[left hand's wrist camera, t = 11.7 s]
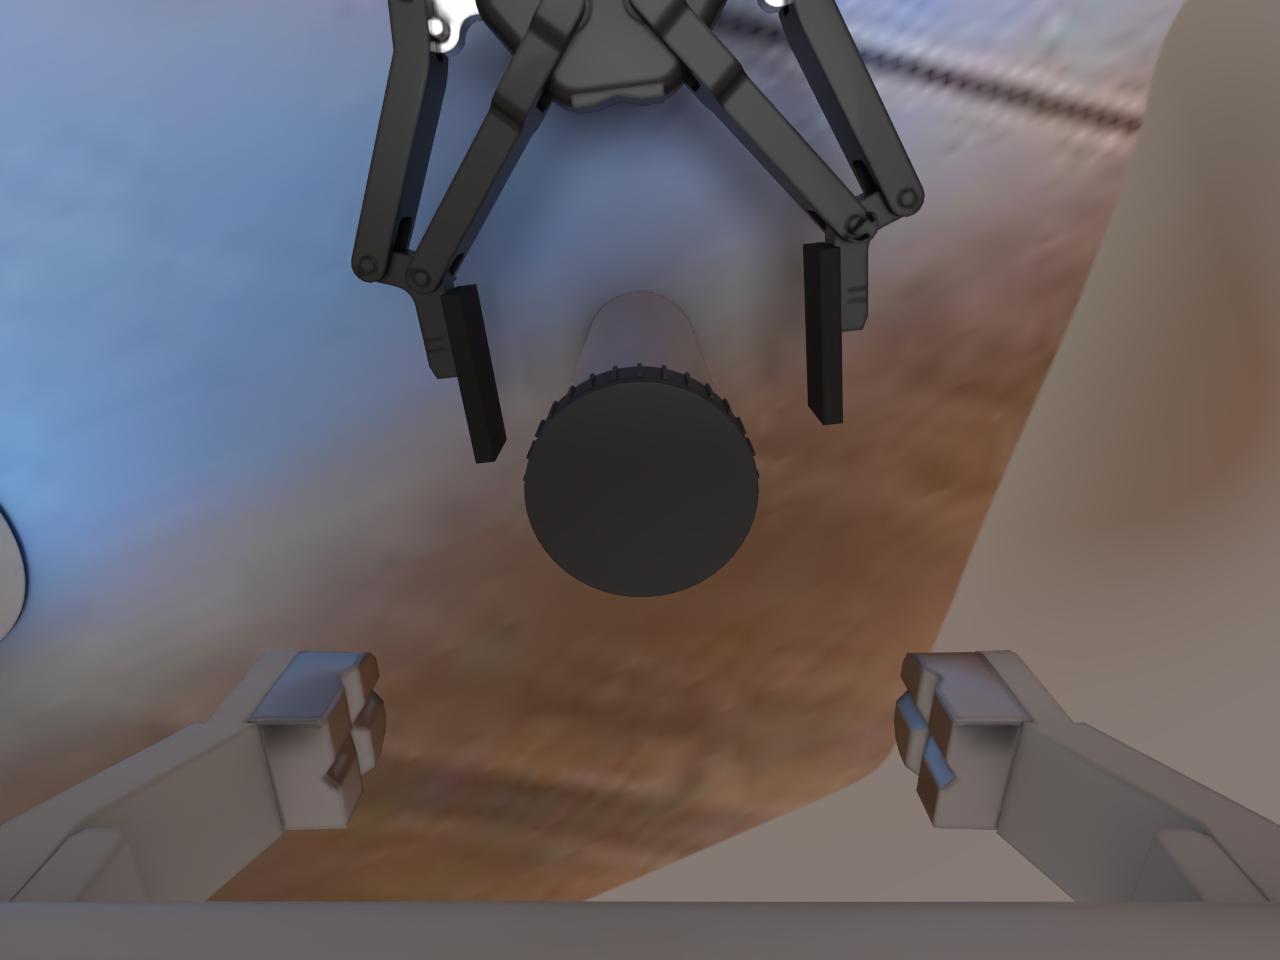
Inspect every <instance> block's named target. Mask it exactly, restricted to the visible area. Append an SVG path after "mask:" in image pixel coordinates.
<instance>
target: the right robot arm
mask: <svg viewBox="0 0 1280 960" xmlns="http://www.w3.org/2000/svg"><path fill="white" fill-rule="evenodd" d="M726 2H727V0H388V6H389V15H390V23H391V32H392V41H393V50H394V51H393V56H392V61H391V66H390V71H389V76H388V81H387V86H386V91H385V96H384V101H383V106H382V111H381V116H380V121H379V125H378V130H377V135H376V140H375V145H374V150H373V155H372V160H371V165H370V170H369V175H368V180H367V185H366V190H365V195H364V200H363V205H362V210H361V214H360V219H359V224H358V229H357V234H356V239H355V244H354V249H353V254H352V259H351V266H352V269H353V272H354V273H355V275H356V276H357V277H358V278H359V279H361V280H363V281H364V282H370V283H372V282H379V283H384V284H388V285H392V286H396V287H399V288H402V289H403V290H405V291H407V292H408V293H409V294H410V295H411V297H412V299H413V300H414V303H415V306H416V310H417V314H418V319H419V323H420V327H421V332H422V336H423V340H424V345H425V349H426V352H427V353H426V354H427V358H428V362H429V367H430V368H431V370H432V371H433V373H434V374H435V376H436V377H437V379H442V378H451V377H458V382H459V387H460V391H461V396H462V400H463V405H464V410H465V414H466V419H467V424H468V428H469V433H470V437H471V442H472V447H473V451H474V456H475V461H476V464H477V463H486V462H495V460H496V459H497V457H498V455H499V453H500V451H501V449H502V447H503V445H504V444H505V442H506V440H507V438H506V433H505V428H504V423H503V418H502V413H501V408H500V403H499V398H498V392H497V387H496V382H495V377H494V372H493V367H492V362H491V357H490V352H489V347H488V342H487V336H486V331H485V326H484V321H483V316H482V311H481V306H480V301H479V296H478V291H477V286H476V284H474V285H466V286H458V287H456V288H454V283H453V282H454V281H455V280H456V278H457V277H455V275H456V273H457V271H458V269H459V267H460V265H461V264H462V262H463V260H464V258H465V256H466V255H467V253H468V251H469V249H470V247H471V245H472V244H473V242H474V240H475V238H476V236H477V235H478V233H479V231H480V229H481V227H482V225H483V224H484V222H485V220H486V218H487V216H488V214H489V213H490V211H491V209H492V207H493V205H494V204H495V202H496V200H497V198H498V196H499V194H500V193H501V191H502V189H503V187H504V185H505V184H506V182H507V180H508V178H509V176H510V174H511V173H512V171H513V169H514V167H515V165H516V164H517V162H518V160H519V158H520V156H521V154H522V153H523V151H524V149H525V147H526V145H527V143H528V142H529V140H530V138H531V136H532V135H533V134H534V132H535V131H536V130H537V129H538V127H539V126H540V124H541V122H542V121H543V119H544V117H545V115H546V113H547V111H548V110H549V108H550V106H551V104H552V102H554V103H556V104H557V105H559V106H560V107H562V108H565V109H567V110H570V111H575V112H576V113H577V114H581V113H589V112H597V111H600V110H602V109H604V108H607V107H609V106H611V105H613V104H616V103H618V102H623V103H630V104H636V105H650V104H657V103H663V101H664V100H665V99H667V98H669V97H670V96H672V95H673V94H675V93H676V92H677V91H678V90H679V89H680V88H681V87H682V85H683V84H685V85H686V86H687V87H688V88H689V89H690V90H691V91H692V93H693V94H694V95H695V96H696V97H697V98H698V99H699V100H700V101H701V102H702V103H703V104H704V105H705V106H706V107H707V108H708V109H710V110H711V111H712V112H713V113H714V114H715V115H716V116H717V117H718V118H719V119H720V120H721V121H722V122H723V123H724V124H725V126H726V127H727V128H728V129H729V130H730V131H731V132H732V133H733V134H734V135H735V136H736V137H737V139H738V140H739V141H740V142H741V143H742V144H743V145H744V146H745V147H746V148H747V149H748V150H749V151H750V153H751V154H752V155H753V156H754V157H755V158H756V159H757V160H758V161H759V162H760V163H761V164H762V166H763V167H764V168H765V169H766V170H767V171H768V172H769V173H770V174H771V175H772V176H773V177H774V179H775V180H776V181H777V182H778V183H779V184H780V185H781V186H782V187H783V188H784V189H785V190H786V192H787V193H788V194H789V195H790V196H791V197H792V198H793V199H794V200H795V201H796V202H797V203H798V205H799V206H800V207H801V208H802V209H803V210H804V211H805V212H806V213H807V214H808V215H809V216H810V218H811V219H812V220H813V221H814V222H815V223H816V224H817V225H818V226H819V227H820V228H821V229H822V231H823V232H824V233H825V243H824V242H818V243H810V244H803V259H804V291H805V323H806V355H807V387H808V406H809V408H810V409H811V410H812V411H813V413H814V414H815V415H816V417H817V418H818V419H819V420H820V422H821V423H822V424H823V425H829V424H838V423H843V401H842V332H844V331H853V330H862V329H863V327H864V325H865V322H866V319H867V317H868V247H869V243H870V240H871V239H873V237H874V236H875V234H876V233H877V231H878V230H879V229H881V228H882V227H884V226H886V225H888V224H890V223H892V222H894V221H896V220H898V219H900V218H902V217H908V216H911V215H913V214H915V213H916V212H917V211H918V210H919V209H920V208H921V206H922V204H923V202H924V196H925V194H924V190H923V187H922V185H921V183H920V181H919V179H918V176H917V174H916V172H915V170H914V168H913V166H912V164H911V162H910V159H909V157H908V155H907V153H906V151H905V149H904V147H903V145H902V142H901V140H900V138H899V136H898V134H897V132H896V130H895V128H894V126H893V123H892V121H891V119H890V117H889V115H888V113H887V111H886V109H885V106H884V104H883V102H882V100H881V98H880V96H879V94H878V92H877V89H876V87H875V85H874V83H873V81H872V79H871V77H870V75H869V72H868V70H867V68H866V66H865V64H864V62H863V60H862V58H861V55H860V53H859V51H858V49H857V47H856V45H855V43H854V41H853V38H852V36H851V34H850V32H849V30H848V28H847V26H846V24H845V21H844V19H843V17H842V15H841V13H840V11H839V9H838V7H837V4H836V2H835V0H757V2H758V5H759V6H760V7H761V8H762V9H763V10H764V11H766V12H769V13H777V12H778V13H779V17H780V21H781V24H782V27H783V31H784V33H785V35H786V38H787V40H788V42H789V45H790V47H791V49H792V51H793V53H794V55H795V57H796V59H797V61H798V63H799V65H800V67H801V69H802V71H803V73H804V75H805V77H806V79H807V81H808V83H809V85H810V87H811V89H812V91H813V93H814V95H815V97H816V99H817V101H818V103H819V105H820V107H821V109H822V111H823V113H824V115H825V117H826V119H827V121H828V123H829V125H830V127H831V129H832V131H833V133H834V135H835V137H836V139H837V141H838V143H839V145H840V147H841V149H842V151H843V153H844V155H845V157H846V159H847V161H848V163H849V165H850V167H851V169H852V171H853V173H854V175H855V177H856V179H857V181H858V183H859V185H860V187H861V189H862V191H863V193H862V194H860V195H858V196H856V197H855V196H854V195H853V194H852V193H851V191H850V190H849V189H848V188H847V187H846V186H845V185H844V184H843V182H842V181H841V180H840V179H839V178H838V177H837V176H836V175H835V173H834V172H833V171H832V170H831V169H830V168H829V167H828V166H827V165H826V163H825V162H824V161H823V160H822V159H821V158H820V157H819V156H818V154H817V153H816V152H815V151H814V150H813V149H812V148H811V147H810V145H809V144H808V143H807V142H806V141H805V140H804V139H803V138H802V137H801V135H800V134H799V133H798V132H797V131H796V130H795V129H794V128H793V126H792V125H791V124H790V123H789V122H788V121H787V120H786V119H785V117H784V116H783V115H782V114H781V113H780V112H779V111H778V110H777V109H776V107H775V106H774V105H773V104H772V103H771V102H770V101H769V100H768V98H767V97H766V96H765V95H764V94H763V93H762V92H761V91H760V89H759V88H758V87H757V86H756V85H755V84H754V83H753V82H752V81H751V79H750V78H749V77H748V76H747V75H746V73H745V72H744V70H743V68H742V66H741V64H740V63H739V62H738V60H737V59H736V58H735V57H734V56H733V54H732V53H731V52H730V51H729V50H728V49H727V48H726V47H725V45H724V44H723V43H722V42H721V41H720V40H719V39H718V38H717V37H716V35H715V34H714V33H713V32H712V29H713V27H714V25H715V23H716V21H717V19H718V17H719V15H720V13H721V11H722V9H723V8H724V6H725V4H726ZM481 20H483V21H484V23H485V24H486V25H487V26H488V28H489V29H490V30H491V31H492V32H493V33H494V35H495V36H496V37H497V38H498V39H499V40H500V42H501V43H502V44H503V45H504V46H505V47H506V48H507V50H508V51H509V52H510V53H511V54H512V55H513V58H512V60H511V62H510V64H509V66H508V68H507V70H506V72H505V74H504V76H503V77H502V79H501V81H500V83H499V85H498V87H497V89H496V91H495V93H494V96H493V98H492V103H491V107H490V109H489V112H488V114H487V116H486V117H485V119H484V121H483V123H482V125H481V127H480V129H479V131H478V133H477V135H476V137H475V138H474V140H473V142H472V144H471V146H470V148H469V150H468V152H467V154H466V156H465V158H464V160H463V161H462V163H461V165H460V167H459V169H458V171H457V173H456V175H455V177H454V179H453V181H452V182H451V184H450V186H449V188H448V190H447V192H446V194H445V196H444V198H443V200H442V202H441V203H440V205H439V207H438V209H437V211H436V213H435V215H434V217H433V219H432V221H431V223H430V225H429V226H428V228H427V230H426V232H425V234H424V236H423V238H422V240H421V242H420V244H419V246H418V247H417V249H416V251H412V250H409V245H410V241H411V237H412V232H413V228H414V224H415V219H416V215H417V211H418V206H419V202H420V198H421V193H422V189H423V185H424V180H425V176H426V171H427V167H428V163H429V158H430V154H431V150H432V145H433V141H434V137H435V132H436V128H437V124H438V119H439V115H440V110H441V106H442V102H443V97H444V93H445V88H446V82H447V76H448V57H452V56H455V55H457V54H459V53H460V52H461V51H462V49H463V47H464V45H465V39H466V33H467V31H468V29H469V27H470V26H471V25H472V24H473V23H475V22H477V21H481Z"/></svg>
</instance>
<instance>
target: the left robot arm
mask: <svg viewBox="0 0 1280 960" xmlns="http://www.w3.org/2000/svg"><path fill="white" fill-rule="evenodd" d="M24 597H25V571H24V565H23V561H22V557H21V553H20V550H19V547H18V544H17V542H16V540H15V537H14V535H13V533H12V531H11V529H10V527H9V525H8V524H7V522H6V520H5V518H4V517H3V515H2V514H1V512H0V640H1V639H2V638H3V637H4V636H6V634H7V633H8V632H9V631H10V630H11V628H12V627H13V626H14V624H15V622H16V621H17V619H18V617H19V614H20V612H21V609H22V606H23V602H24ZM378 678H379V671H378V666H377V661H376V657H375V656H374V655H372V654H371V653H370V652H337V651H304V652H303V651H270V652H267V653H264V654H263V655H262V656H261V657H260V658H259V659H258V660H257V662H256V663H255V664H254V665H253V666H252V668H251V669H250V670H249V671H248V673H247V674H246V675H245V676H244V677H243V679H242V680H241V681H240V682H239V683H238V685H237V686H236V687H235V688H234V689H233V691H232V692H231V693H230V694H229V696H228V697H227V698H226V699H225V700H224V702H223V703H222V704H221V705H220V706H219V708H218V709H217V710H216V711H215V712H214V714H213V715H212V716H211V717H210V719H209V720H208V721H207V722H206V723H194V724H192V725H190V726H188V727H186V728H184V729H182V730H180V731H178V732H176V733H175V734H173V735H171V736H169V737H167V738H165V739H163V740H161V741H159V742H157V743H155V744H154V745H152V746H150V747H148V748H146V749H144V750H142V751H140V752H138V753H136V754H134V755H133V756H131V757H129V758H127V759H125V760H123V761H121V762H119V763H117V764H115V765H113V766H112V767H110V768H108V769H106V770H104V771H102V772H100V773H98V774H96V775H94V776H93V777H91V778H89V779H87V780H85V781H83V782H81V783H79V784H77V785H75V786H73V787H72V788H70V789H68V790H66V791H64V792H62V793H60V794H58V795H56V796H54V797H52V798H51V799H49V800H47V801H45V802H43V803H41V804H39V805H37V806H35V807H33V808H31V809H30V810H28V811H26V812H24V813H22V814H20V815H18V816H16V817H14V818H12V819H11V820H9V821H7V822H5V823H3V824H1V825H0V960H1280V825H1278V824H1277V823H1275V822H1273V821H1271V820H1269V819H1267V818H1265V817H1263V816H1261V815H1259V814H1258V813H1256V812H1254V811H1252V810H1250V809H1248V808H1246V807H1244V806H1242V805H1240V804H1239V803H1237V802H1235V801H1233V800H1231V799H1229V798H1227V797H1225V796H1223V795H1221V794H1220V793H1218V792H1216V791H1214V790H1212V789H1210V788H1208V787H1206V786H1204V785H1202V784H1201V783H1199V782H1197V781H1195V780H1193V779H1191V778H1189V777H1187V776H1185V775H1183V774H1181V773H1180V772H1178V771H1176V770H1174V769H1172V768H1170V767H1168V766H1166V765H1164V764H1162V763H1161V762H1159V761H1157V760H1155V759H1153V758H1151V757H1149V756H1147V755H1145V754H1143V753H1142V752H1140V751H1138V750H1136V749H1134V748H1132V747H1130V746H1128V745H1126V744H1124V743H1123V742H1121V741H1119V740H1117V739H1115V738H1113V737H1111V736H1109V735H1107V734H1105V733H1104V732H1102V731H1100V730H1098V729H1096V728H1094V727H1092V726H1090V725H1088V724H1086V723H1074V722H1073V721H1072V720H1071V719H1070V717H1069V716H1068V715H1067V714H1066V713H1065V711H1064V710H1063V709H1062V708H1061V706H1060V705H1059V704H1058V703H1057V702H1056V700H1055V699H1054V698H1053V697H1052V696H1051V694H1050V693H1049V692H1048V691H1047V690H1046V688H1045V687H1044V686H1043V685H1042V684H1041V682H1040V681H1039V680H1038V679H1037V677H1036V676H1035V675H1034V674H1033V673H1032V671H1031V670H1030V669H1029V668H1028V667H1027V665H1026V664H1025V663H1024V662H1023V661H1022V659H1021V658H1020V657H1019V656H1018V655H1017V654H1016V653H1014V652H1012V651H1010V650H1002V651H975V652H951V653H907V655H906V657H905V659H904V661H903V665H902V671H901V678H902V680H903V682H904V684H905V686H906V688H907V691H906V692H905V693H904V694H903V695H902V696H901V697H900V698H899V699H898V700H897V701H896V709H895V717H894V725H895V738H896V742H897V746H898V750H899V753H900V755H901V758H902V760H903V762H904V764H905V766H906V767H907V768H908V769H910V770H911V771H912V772H914V773H915V774H917V775H918V776H919V778H918V784H917V793H918V795H919V797H920V799H921V801H922V803H923V805H924V807H925V810H926V812H927V814H928V816H929V818H930V820H931V822H932V824H933V827H934V828H945V829H981V830H997V834H998V835H1000V836H1001V837H1002V838H1003V839H1004V840H1005V841H1007V842H1008V843H1009V844H1010V845H1011V846H1012V847H1013V848H1015V849H1016V850H1017V851H1018V852H1019V853H1020V854H1021V855H1023V856H1024V857H1025V858H1026V859H1027V860H1028V861H1029V862H1031V863H1032V864H1033V865H1034V866H1035V867H1036V868H1038V869H1039V870H1040V871H1041V872H1042V873H1043V874H1044V875H1046V876H1047V877H1048V878H1049V879H1050V880H1051V881H1053V882H1054V883H1055V884H1056V885H1057V886H1058V887H1059V888H1061V889H1062V890H1063V891H1064V892H1065V893H1066V894H1067V895H1069V896H1070V897H1071V898H1072V899H1073V900H1074V901H1076V902H205V901H206V900H207V899H208V898H209V897H210V896H212V895H213V894H214V893H215V892H216V891H217V890H218V889H220V888H221V887H222V886H223V885H224V884H225V883H227V882H228V881H229V880H230V879H231V878H232V877H233V876H235V875H236V874H237V873H238V872H239V871H240V870H242V869H243V868H244V867H245V866H246V865H247V864H249V863H250V862H251V861H252V860H253V859H254V858H255V857H257V856H258V855H259V854H260V853H261V852H262V851H264V850H265V849H266V848H267V847H268V846H269V845H270V844H272V843H273V842H274V841H275V840H276V839H277V838H279V837H280V836H281V835H282V834H283V830H299V829H333V828H346V827H347V825H348V823H349V820H350V818H351V816H352V814H353V812H354V810H355V808H356V805H357V803H358V801H359V799H360V797H361V795H362V793H363V791H364V790H363V784H362V778H361V776H362V775H363V774H365V773H366V772H368V771H369V770H370V769H372V768H373V767H374V766H375V764H376V762H377V760H378V758H379V755H380V753H381V750H382V746H383V741H384V736H385V727H386V714H385V708H384V701H383V700H382V699H381V698H380V697H379V696H378V695H377V694H376V693H375V692H374V691H373V688H374V686H375V684H376V682H377V680H378Z"/></svg>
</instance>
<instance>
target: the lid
mask: <svg viewBox="0 0 1280 960" xmlns="http://www.w3.org/2000/svg"><path fill="white" fill-rule="evenodd" d="M745 434H746V431H745V428H744V426H743V424H742V421H741V419H740V417H737V418H736V417H735V416H734V414H733V413H732V411H731V408H730V406H729V403H728V401H727V400H726V399H724V400H722V399H721V398H720V397H719V396H718V395H717V394H715V393H714V392H713V391H712V389H711V386H710V385H709V384H708V383H707V384H706V385H703V384H702V383H700V382H699V381H697V380H695V379H693V378H691V377H690V373H688V372H685V374H682V373H679V372H676V371H672V370H669V369H667V367H666V365H662V368H658V367H651V366H642V363H637V366H633V367H624V368H618V366H613V370H610V371H606V372H604V373H601V374H599V375H596V376H595V374H594V373H592V374H590V377H589V379H588V380H586V381H584V382H582V383H580V384H579V385H578V386H576V387H574V385H572V386H571V387H570V388H569V391H568V393H567V394H566V395H565V396H564V397H563V398H562V399H561V400H560V401H559V402H557V401H555V402H554V403H553V405H552V407H551V410H550V412H549V414H548V417H547V419H546V420H545V421H544V420H542V421H541V422H540V425H539V427H538V429H537V432H536V434H535V437H537V440H536V441H535V440H533V443H532V445H531V447H530V450H529V452H528V454H527V459H529V460H528V464H527V468H526V473H525V475H524V479H523V481H525V483H524V494H525V504H526V510H527V514H528V517H529V520H530V524H531V527H532V529H533V531H534V533H535V535H536V537H537V539H538V541H539V542H540V544H541V545H542V547H543V548H544V550H545V551H546V552H547V553H548V555H549V556H550V557H551V558H552V559H553V560H554V561H555V563H557V564H558V565H559V566H560V567H561V568H562V569H563V570H564V571H566V572H567V573H569V574H570V575H571V576H573V577H574V578H576V579H577V580H579V581H581V582H583V583H585V584H587V585H589V586H591V587H593V588H596V589H599V590H601V591H604V592H608V593H612V594H616V595H622V596H629V597H652V596H661V595H666V594H671V593H675V592H678V591H681V590H684V589H687V588H689V587H692V586H694V585H696V584H698V583H700V582H702V581H703V580H705V579H707V578H708V577H710V576H712V575H713V574H714V573H716V572H717V571H718V570H719V569H720V568H722V567H723V566H724V565H725V564H726V563H727V562H728V561H729V560H730V559H731V558H732V557H733V556H734V554H735V553H736V552H737V550H738V549H739V548H740V546H741V545H742V543H743V542H744V540H745V538H746V536H747V534H748V533H749V530H750V528H751V525H752V523H753V520H754V517H755V513H756V508H757V503H758V492H759V490H758V478H759V473H758V471H757V468H756V465H755V461H754V458H753V456H755V452H754V449H753V447H752V445H751V442H750V440H749V438H748V437H747V438H745Z"/></svg>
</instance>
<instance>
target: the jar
mask: <svg viewBox="0 0 1280 960" xmlns="http://www.w3.org/2000/svg"><path fill="white" fill-rule="evenodd" d="M637 363H642V366H651V367H658V368H662V365H666V367H667V369H669V370H672V371H676V372H679V373H682V374H685V372H688V373H690V377H691V378H693V379H695V380H697V381H699V382H700V383H702V384H703V385H706V384H707V383H708V384H709V385H710V386H711V389H712V391H713V392H714V393H715V394H717V393H716V391H715V388H714V385H713V383H712V380H711V377H710V375H709V372H708V369H707V367H706V364H705V361H704V359H703V356H702V353H701V351H700V348H699V345H698V343H697V340H696V337H695V334H694V332H693V329H692V326H691V324H690V322H689V320H688V318H687V316H686V315H685V313H684V312H683V311H682V310H681V309H680V307H679V306H678V305H676V304H675V303H674V302H673V301H671V300H670V299H668V298H666V297H664V296H662V295H659V294H656V293H653V292H646V291H637V292H630V293H626V294H623V295H620V296H618V297H616V298H614V299H612V300H611V301H610V302H608V303H607V304H606V305H605V306H604V307H603V308H602V309H601V310H600V311H599V312H598V314H597V315H596V317H595V318H594V320H593V322H592V324H591V327H590V329H589V332H588V335H587V337H586V340H585V343H584V346H583V348H582V351H581V354H580V356H579V359H578V362H577V365H576V367H575V370H574V373H573V375H572V378H571V381H570V383H569V386H568V389H567V392H566V394H567V393H568V391H569V388H570V387H571V386H572V385H574V387H576V386H578V385H579V384H580V383H582V382H584V381H586V380H588V379H589V377H590V374H592V373H594V374H595V376H596V375H599V374H601V373H604V372H606V371H610V370H613V366H618V368H624V367H633V366H637ZM566 394H565V395H566Z"/></svg>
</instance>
